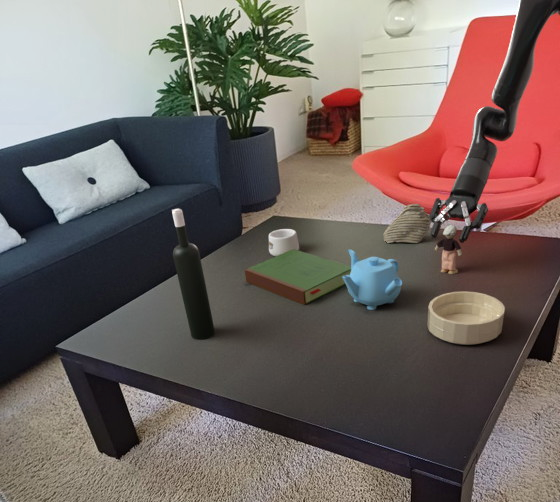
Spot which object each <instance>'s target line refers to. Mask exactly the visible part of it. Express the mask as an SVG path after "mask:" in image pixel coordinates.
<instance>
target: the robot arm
mask: <svg viewBox="0 0 560 502" xmlns="http://www.w3.org/2000/svg"><path fill="white" fill-rule="evenodd" d="M555 14H558V16H560V0H519V3H518V7H517V12H516V17H515V21H514V25H513V30H512V32H511V37H510V42H509V45H508V48H507V52H506V56H505V58H504V62H503V65H502V67H501V70H500V73H499V75H498V77H497V80H496V82H495V85H494V88H493V90H492V93H491V101H492V103H493V105H495V106H496V107H493V106H490V105H485V106H483V107H481V108H480V109H479V110H478V111H477V112H476V113H475V116H474V119H473V124H472V134H471V135H472V136H471V142H470V146H469V149H468V152H467V154H466V156H465V159H464V161H463V163H462V164H461V167H459V168H460V169H459V171H458V173H457V176H456V178H455V181H454V183H453V185H452V187H451V190H450V193H449V196H448V198H447V199H446V200H445V199H441V198H440V197H436V198H435V200H434V203H433V205H432V208H431V211H430V213H429V215H430V216H429V218H430V220H431V221H432V222H431V224H432V223H433V224H432V226H431V228H430V235H431V238H432V239H437V238H438V235H439V233H440V230H441V228H442V225H443V224H444V223H445V222H448V221H449V220H450V219H459V220H464V223H465V225H464V226H463V227H462V229H461V232H460V235H459V238H458V241H459V244H460V243H461V244H464V243H465V242H466V241H467V240H468V238H469V236H470V234H471V231H472V230H474V229H476V230H480V228H481V227H482V225H483V223H484V220H485V219H486V216H487V214H488V212H489V207H488V204H487V203H486V202H483V203H479V201H480V199H481V197H482V194H483V192H484V189H485V187H486V185H487V183H488V180H489V176H490V173H491V170H492V167H493V165H494V162H495V160H496V158H497V155H498V151H499V149H498V147H497V145H496V144H495V143H494V142H492V141H491V140H494V141H497V142H505V141H508V140H509V139H510V138H511V137H512V136H513V135H514V132H515V130H516V128H517V127H516V126H517V120H518V112H519V107H520V103H521V101H522V98H523V95H524V93H525V91H526V89H527V87H528V84H529V82H530V80H531V77H532V74H533V70H534V65H535V49H536V44H537V42H538V38H539V37H540V35H541V32H542V30H543V29H544V27H545V26H546V24H547V22H548V21H549V19H550V17H552V16H555ZM497 107H498V108H497ZM444 206H445V208H444ZM443 208H444V209H443ZM476 211H477V214H476V216H475V218H474V220H473V221H472V216H471V215H472V214H473V213H474V212H476Z"/></svg>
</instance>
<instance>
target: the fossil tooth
mask: <svg viewBox="0 0 560 502" xmlns="http://www.w3.org/2000/svg"><path fill="white" fill-rule="evenodd" d="M429 216H430V214H429V213H428V212H426V211H425V207H424V206H421V204H419V203H413V204H408V205H405V206H404V208H403V209H402V210H401V212H400V213H398V215H397V216H396V217H395V219H393V221H392V222H391V223H390V224H389V226H387V228H386V229H385V231H384V232H383V240H384V242H385V241H386V242H387V243H386V242H385V243H386V244H390V243H408V244H409V243H410V244H419V243H421V242H422V240H423V239H424V238H425V236H426V235H427V234H428V233H429V231H430V229H431V224H432V221H431V220H430V218H429Z"/></svg>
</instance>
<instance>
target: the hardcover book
mask: <svg viewBox="0 0 560 502" xmlns="http://www.w3.org/2000/svg"><path fill="white" fill-rule="evenodd" d="M350 273H351V265H348V264H344V263H341V262H337V261H334V260H332V259H331V260H330V259H327V258H324V257H322V256H318V255H315V254H311V253H307V252H304V251H301V250H295V249H292V250H290V251H288V252H285V253H283V254H281V255H278V256H274V257H272V258H269V259H267V260H264V261H261V262H259V263H256V264H255V265H252V266H250V267H248V268H245V269H244V276H245V281H246V283H247V284H251V285H253V286H255V287H257V288H260V289H263V290H265V291H268V292H271V293H273V294H275V295H278V296H280V297H283V298H285V299H287V300H290V301H293V302H296V303H298V304H300V305H303V306H306V305H308V304H310V303H312V302H314V301H316V300H318V299H320V298H322V297H324V296H327V294H330V293H332V292H333V291H336V290H337V289H340V288H342V287H343V286H346V284H345V282H344V280H343V278H342V277H343V276H345V275H349V276H350Z"/></svg>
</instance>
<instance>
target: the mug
mask: <svg viewBox="0 0 560 502" xmlns="http://www.w3.org/2000/svg"><path fill="white" fill-rule="evenodd" d="M292 249H295V250H298V251H300V245H299V239H298V234H297V231H296V230H294V229H291V228H281V229H276V230H273V231H271V232H269V234H268V253H269V254H270V255H271V256H274V257H276V256H278V255H281V254H283V253H285V252H288V251H290V250H292Z"/></svg>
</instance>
